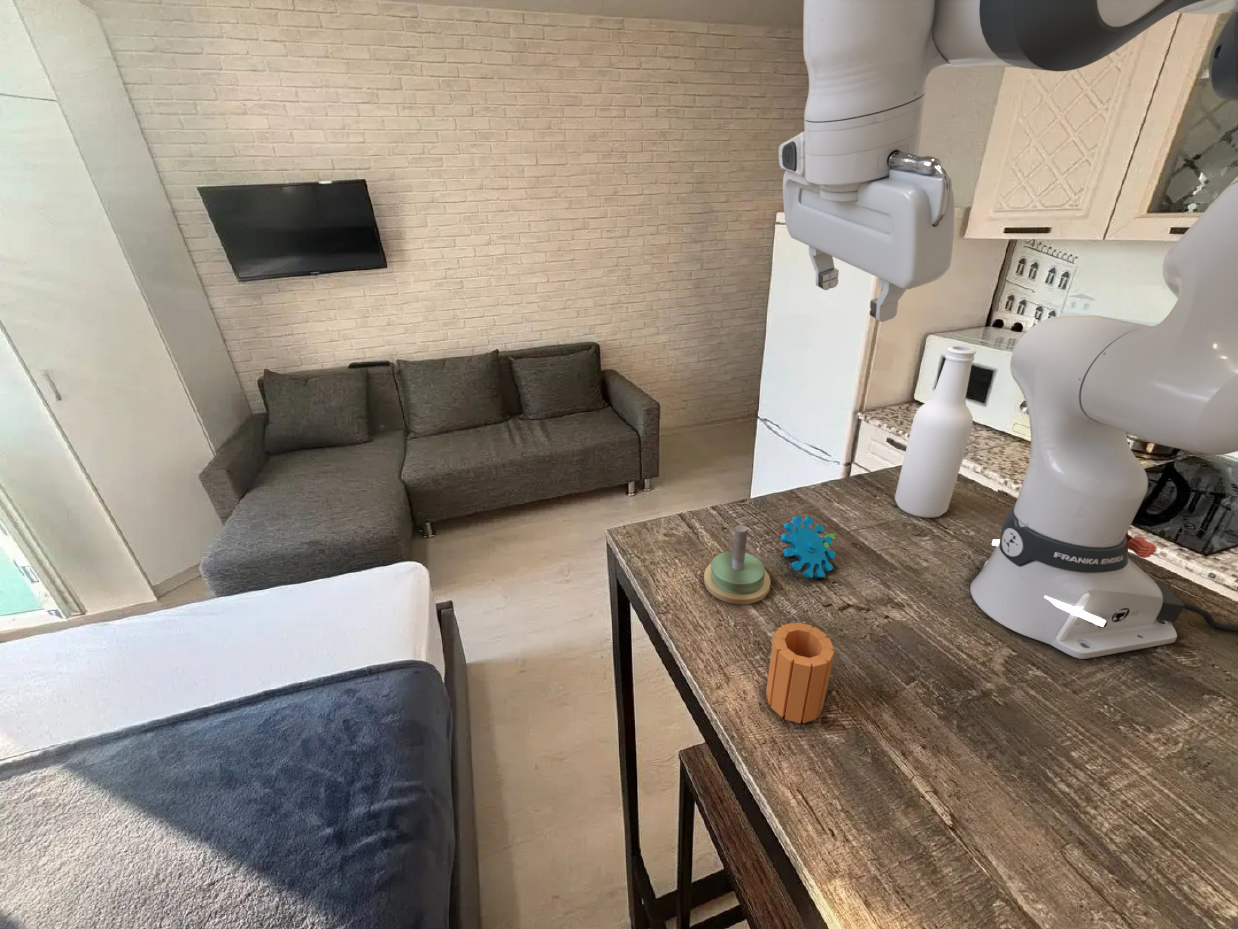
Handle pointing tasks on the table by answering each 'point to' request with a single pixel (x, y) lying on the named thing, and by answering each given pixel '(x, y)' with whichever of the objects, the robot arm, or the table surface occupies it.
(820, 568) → the gear
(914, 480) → the alcohol
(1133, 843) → the table surface
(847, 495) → the table surface
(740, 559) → the ring stack
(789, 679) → the orange grooved hollow cylinder
